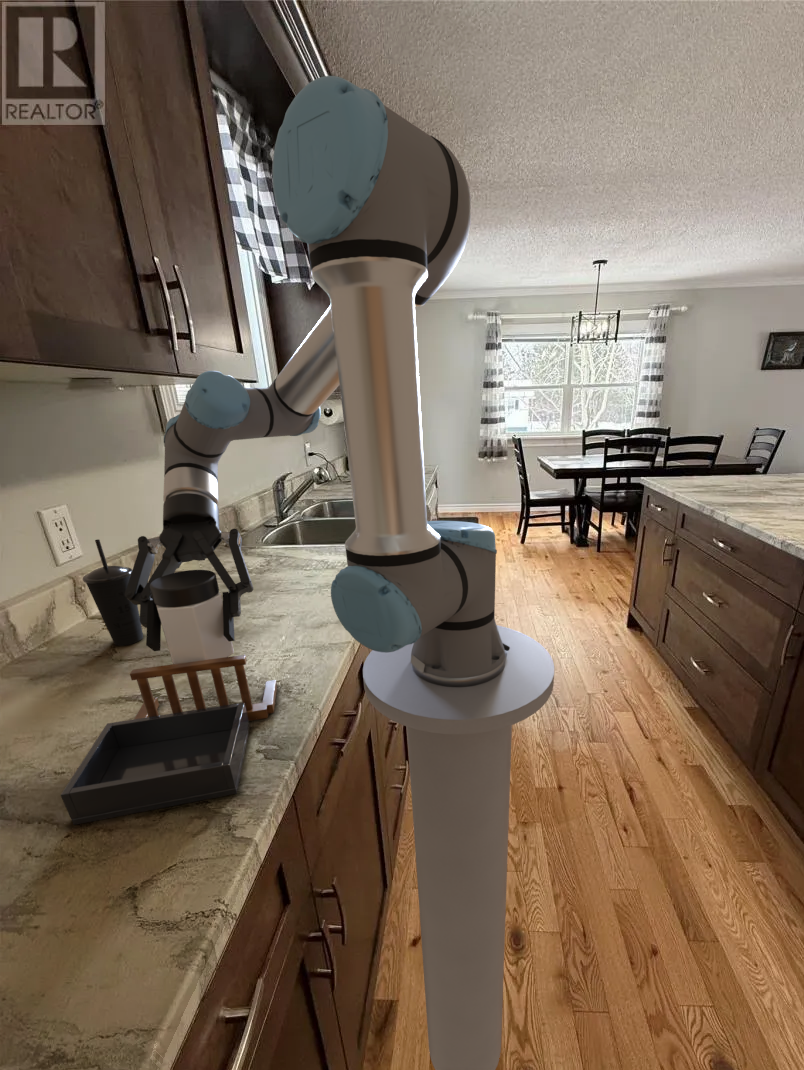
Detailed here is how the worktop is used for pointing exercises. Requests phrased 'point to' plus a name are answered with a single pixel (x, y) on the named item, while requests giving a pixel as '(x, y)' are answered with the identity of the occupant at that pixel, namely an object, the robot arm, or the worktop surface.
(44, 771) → the worktop surface
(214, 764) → the rectangular tray
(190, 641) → the jar
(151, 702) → the drying rack
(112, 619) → the drinking cup
